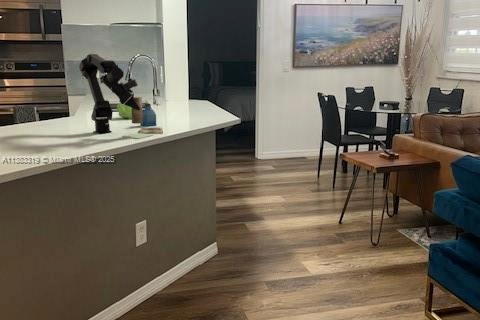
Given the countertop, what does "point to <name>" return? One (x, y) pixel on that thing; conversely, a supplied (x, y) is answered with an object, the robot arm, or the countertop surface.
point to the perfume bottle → (148, 116)
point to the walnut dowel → (137, 111)
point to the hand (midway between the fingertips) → (139, 108)
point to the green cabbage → (124, 111)
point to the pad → (137, 135)
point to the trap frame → (151, 131)
